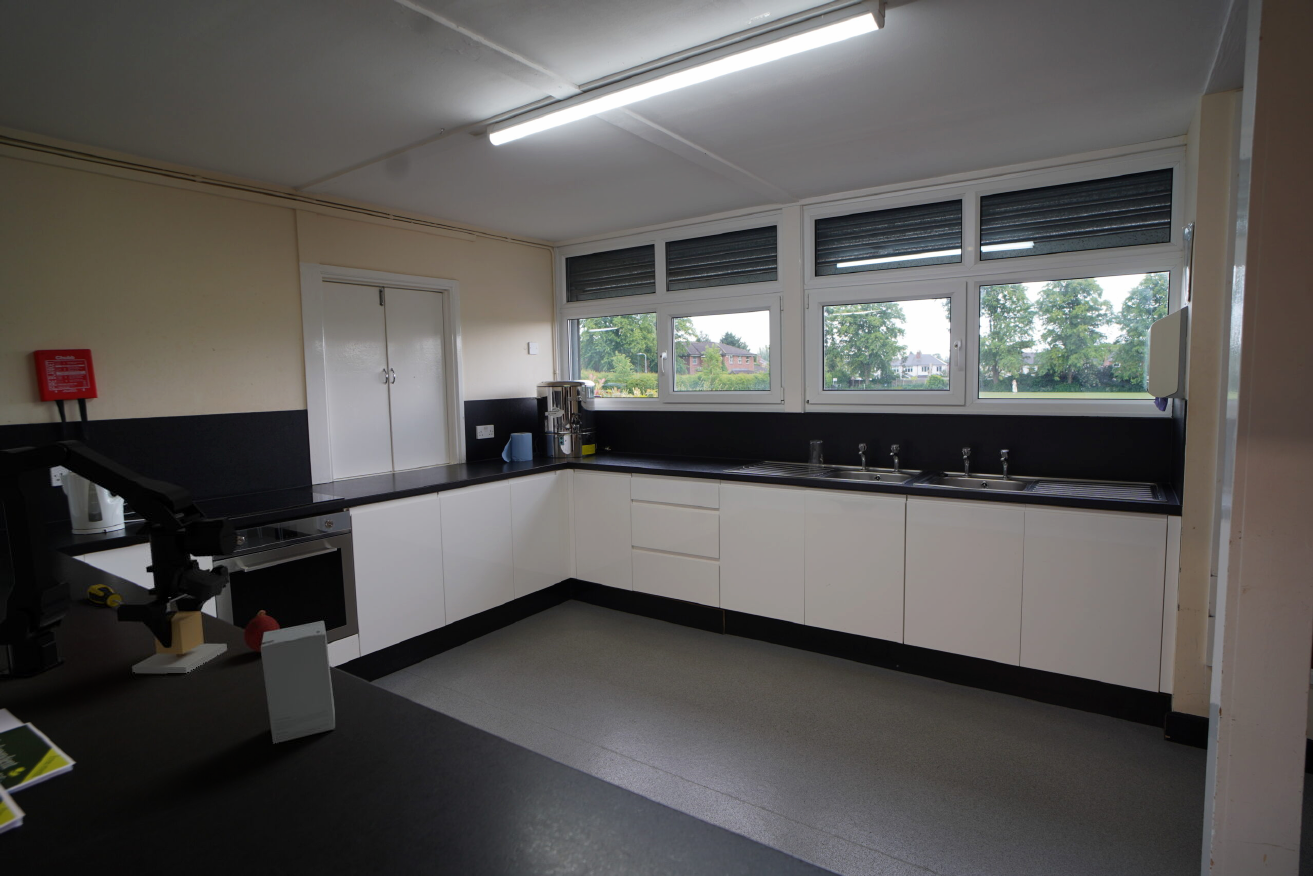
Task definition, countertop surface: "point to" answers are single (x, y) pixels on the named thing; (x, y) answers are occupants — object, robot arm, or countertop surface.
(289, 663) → the skincare box
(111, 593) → the screwdriver
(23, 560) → the robot arm
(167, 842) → the countertop surface
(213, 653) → the post plate
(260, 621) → the onion
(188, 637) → the cardboard carton
